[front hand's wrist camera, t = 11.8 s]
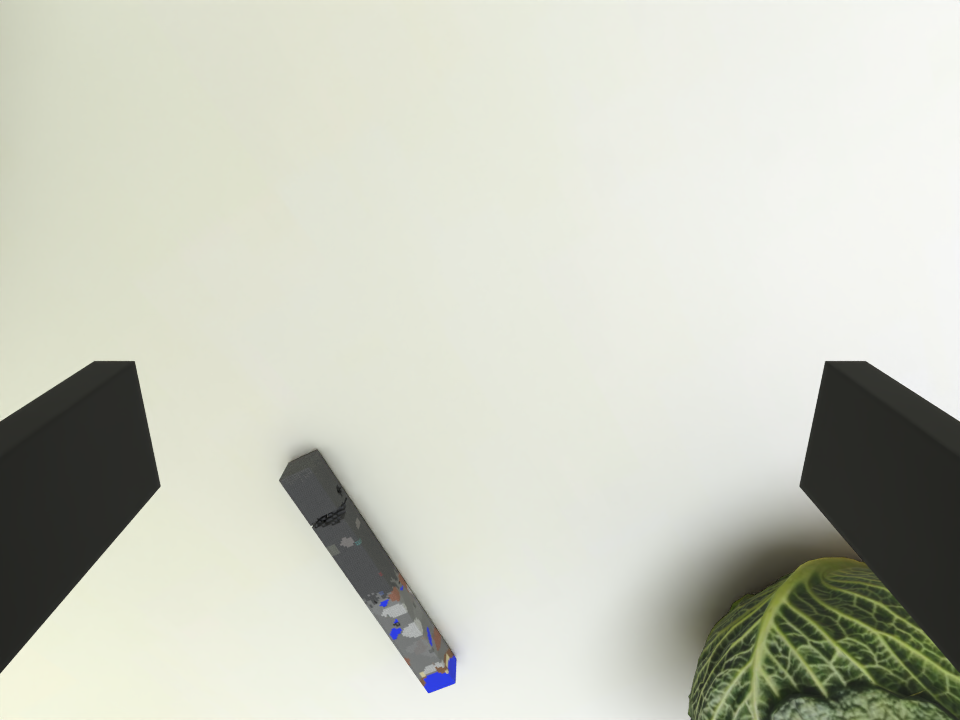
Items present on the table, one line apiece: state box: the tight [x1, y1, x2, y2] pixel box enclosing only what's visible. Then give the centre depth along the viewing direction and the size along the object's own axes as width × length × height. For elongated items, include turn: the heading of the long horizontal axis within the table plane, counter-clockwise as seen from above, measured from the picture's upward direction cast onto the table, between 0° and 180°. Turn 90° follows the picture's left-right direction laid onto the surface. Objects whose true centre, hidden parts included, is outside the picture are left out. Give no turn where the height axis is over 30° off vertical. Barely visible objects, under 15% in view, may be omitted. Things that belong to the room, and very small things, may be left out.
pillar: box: [279, 450, 456, 693], centre depth 44 cm, size 2×2×20 cm
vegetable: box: [688, 557, 960, 720], centre depth 38 cm, size 20×19×20 cm
